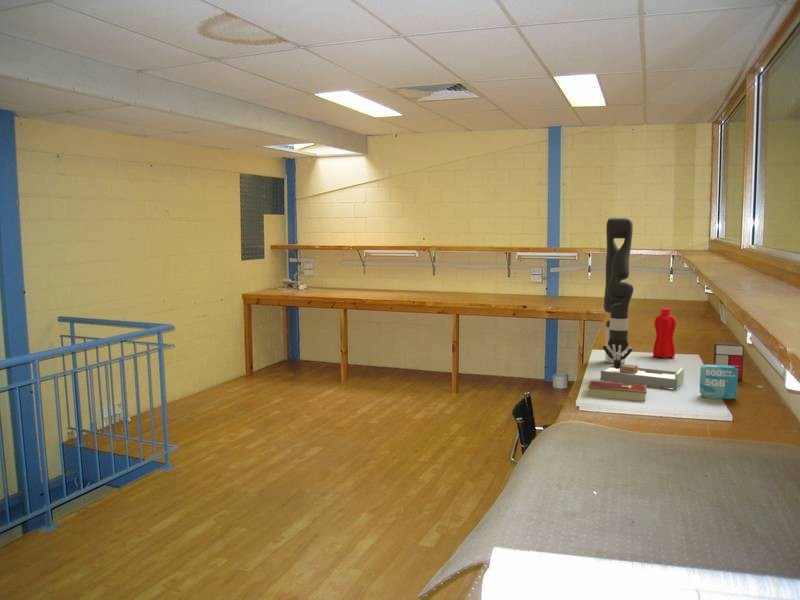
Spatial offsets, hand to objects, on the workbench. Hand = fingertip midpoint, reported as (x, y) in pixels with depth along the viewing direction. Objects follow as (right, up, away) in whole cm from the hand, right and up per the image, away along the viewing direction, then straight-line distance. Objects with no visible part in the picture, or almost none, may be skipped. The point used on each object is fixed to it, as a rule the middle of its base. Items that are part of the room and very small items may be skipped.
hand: (617, 368), depth 268 cm
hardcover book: (-10, -8, -29) cm, 32 cm away
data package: (+27, -8, -32) cm, 42 cm away
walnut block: (+4, -2, -2) cm, 5 cm away
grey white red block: (+47, -5, 0) cm, 48 cm away
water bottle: (+41, 0, +51) cm, 66 cm away
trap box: (+9, -5, -5) cm, 11 cm away
